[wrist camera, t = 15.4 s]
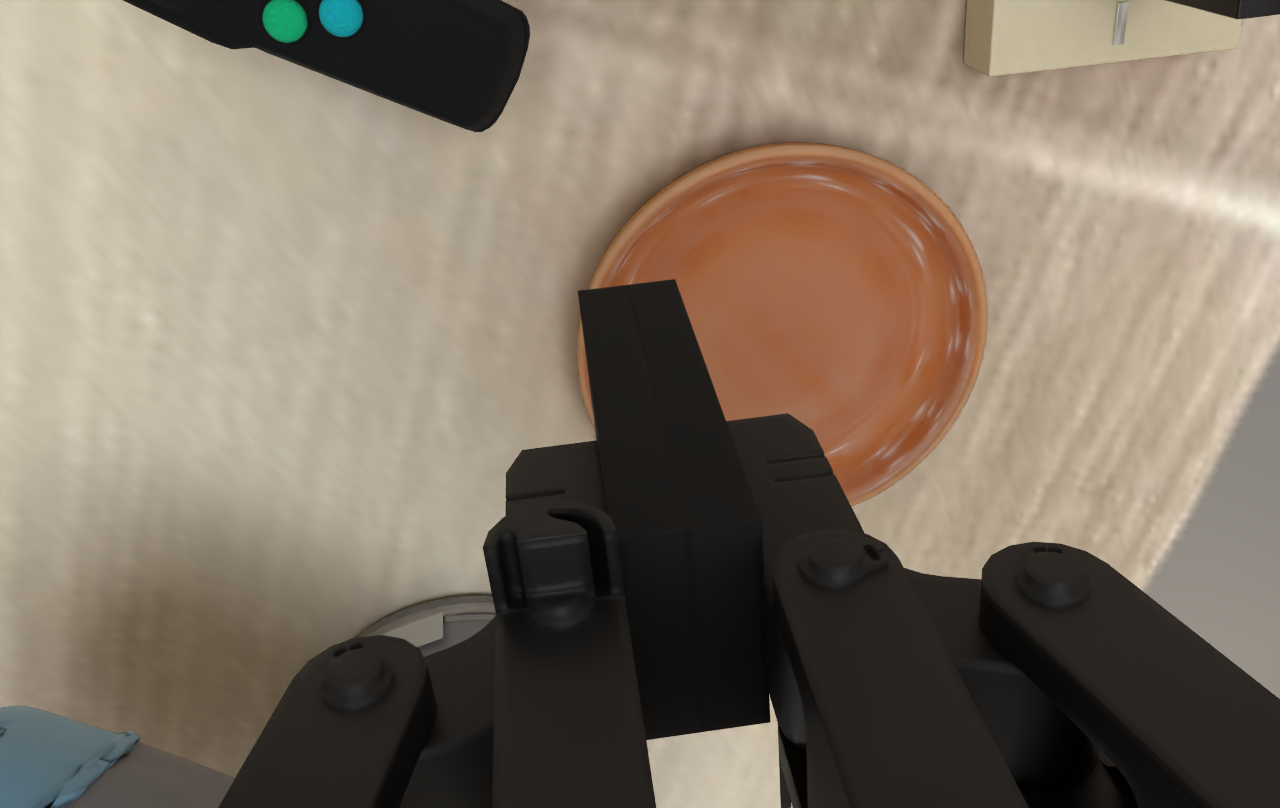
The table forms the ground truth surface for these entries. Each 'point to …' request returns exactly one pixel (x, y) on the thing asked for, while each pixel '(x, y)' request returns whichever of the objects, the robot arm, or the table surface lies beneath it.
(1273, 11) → the black upright block
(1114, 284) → the table surface
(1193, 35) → the beige flat block
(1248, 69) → the table surface
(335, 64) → the controller
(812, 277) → the saucer
